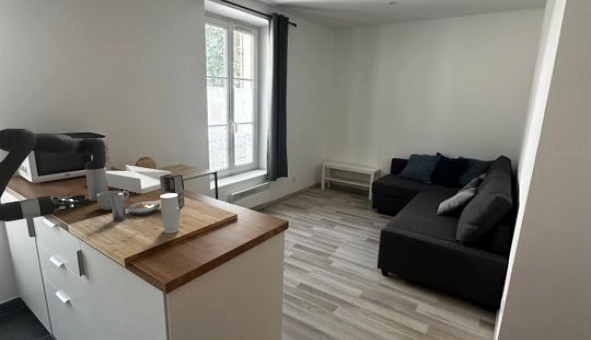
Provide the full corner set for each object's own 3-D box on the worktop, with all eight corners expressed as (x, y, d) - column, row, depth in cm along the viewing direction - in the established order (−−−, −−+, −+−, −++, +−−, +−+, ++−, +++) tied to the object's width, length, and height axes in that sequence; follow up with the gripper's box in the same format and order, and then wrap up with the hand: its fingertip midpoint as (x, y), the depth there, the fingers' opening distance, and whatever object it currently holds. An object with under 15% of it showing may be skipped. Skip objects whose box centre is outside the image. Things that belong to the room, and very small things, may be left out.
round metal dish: (121, 213, 148) (120, 207, 148) (148, 205, 160) (147, 199, 159) (139, 218, 141) (139, 212, 141) (166, 210, 153) (165, 204, 152)
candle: (182, 231, 128) (179, 196, 125) (164, 235, 124) (161, 199, 121) (178, 225, 134) (176, 192, 131) (161, 229, 130) (158, 194, 127)
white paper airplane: (94, 185, 200) (93, 170, 198) (126, 178, 219) (125, 164, 217) (142, 194, 180) (140, 178, 178) (172, 186, 199) (171, 171, 197)
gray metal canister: (110, 220, 140) (107, 194, 137) (122, 216, 144) (119, 191, 141) (117, 222, 137) (114, 196, 135) (128, 218, 141) (126, 193, 139)
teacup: (97, 213, 148) (95, 197, 147) (99, 206, 158) (97, 191, 156) (130, 208, 155) (128, 193, 153) (130, 202, 164) (128, 188, 162)
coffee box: (185, 205, 161) (183, 174, 157) (176, 209, 155) (174, 177, 151) (170, 203, 164) (168, 173, 160) (161, 207, 158) (159, 176, 154)
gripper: (38, 201, 113) (90, 193, 124) (33, 194, 123) (82, 187, 134) (41, 221, 115) (92, 211, 126) (36, 212, 125) (84, 203, 136)
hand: (87, 199), depth 130 cm, fingers open, 8 cm apart
